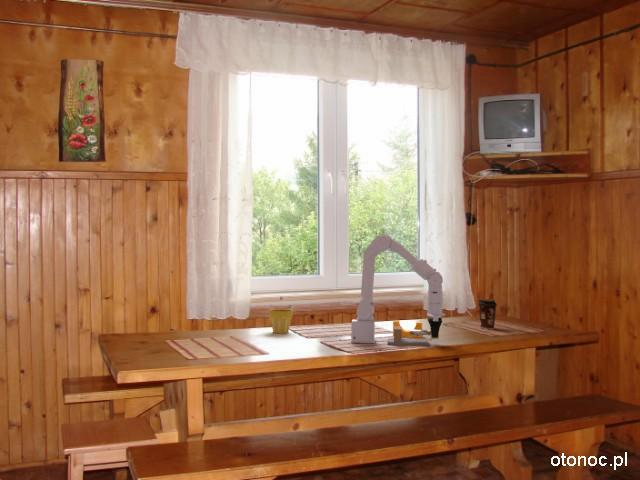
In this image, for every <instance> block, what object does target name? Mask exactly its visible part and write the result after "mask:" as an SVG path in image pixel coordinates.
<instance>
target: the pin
mask: <svg viewBox="0 0 640 480" xmlns="http://www.w3.org/2000/svg"><path fill="white" fill-rule="evenodd" d="M410 335H423V336H430V339H431V340H439V338H440V337H439V335H440V333H439V334H438V338H432V334H431V329H430V330H429V329H428V330H426V329H423V330H413V329H410Z"/></svg>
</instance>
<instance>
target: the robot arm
mask: <svg viewBox="0 0 640 480" xmlns="http://www.w3.org/2000/svg"><path fill="white" fill-rule="evenodd" d="M387 250H388V251H389V252H392V253H397V254H398V255H399V256H400V257H401V258H403V259H404V260H405V261H406V262H408V263H409V264H410V265H411V267H412V270H413V271H414V273H416V274H417V275H418V276H419V277H421V278H422V279H423V281H424V280H425V281H426V282H427V284H428V290H427V313H426V315H427V322H428V324H429V328H430V330H431V334H432V338H438V334H439V335H440V333H439V332H440V328H441V326H442V323H443V318H442V317H446V313H443V286H442V284H443V282H444V278H443V275H442V274H441V273H440V271H437V269H436V268H433V266H431V265H430V264H429V263H428V261H427V260H426V259H423V258H416V257H415V256H414V255H413V254H412V253H411V252H410V251H409V249H407V248H405V247H404V245H402V244H401V243H400V242H399V241H397V240H396V239H394V238H392V237H391V236H390V235H389V234H379V235H378V236H376V237H374V238H373V239H372V240H371V242H370V243H369V245H368V246H367V247H366V248H365V250H364V252H363V258H362V259H363V262H362V274H361V287H360V288H361V289H360V291H361V292H360V298H359V303H358V304H359V305H358V307H357V308H356V316H357V317H356V319H352V320H351V329H350V330H351V332H350V340H351V341H350V342H351V343H357V344H358V343H360V344H361V343H362V344H364V343H365V344H375V343H376V342H377V341H376V340H377V339H376V338H375V329H376V328H375V326H376V325H375V324H376V323H375V318H374V316H373V315H374V314H375V310H376V308H375V305H374V297H373V294H374V281H375V265H376V257H377V256H379V255H380V254H381V253H382V252H384V251H387ZM428 317H429V318H428Z"/></svg>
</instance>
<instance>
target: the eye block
mask: <svg viewBox="0 0 640 480" xmlns="http://www.w3.org/2000/svg"><path fill="white" fill-rule="evenodd" d="M402 328H403V326H401V325H400V326H394V336H393V338H387V342H386V343H387V346H412V345H413V347H414V346H417V347H418V346H419V347H420V346H421V347H423V346H425V347H429V345H430V343H429V339H428V338H427V339H423V338H403V337H402Z"/></svg>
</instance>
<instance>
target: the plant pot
mask: <svg viewBox="0 0 640 480" xmlns="http://www.w3.org/2000/svg"><path fill="white" fill-rule="evenodd" d="M268 316H269V317H268V318H269V319H270V322H271V327H272V332H273V333H274V334H288V333H289V330H290V326H291V322H292V319H293V318H294V317H293V316H294V310H293V309H290V308H272V309H269V313H268Z"/></svg>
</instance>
